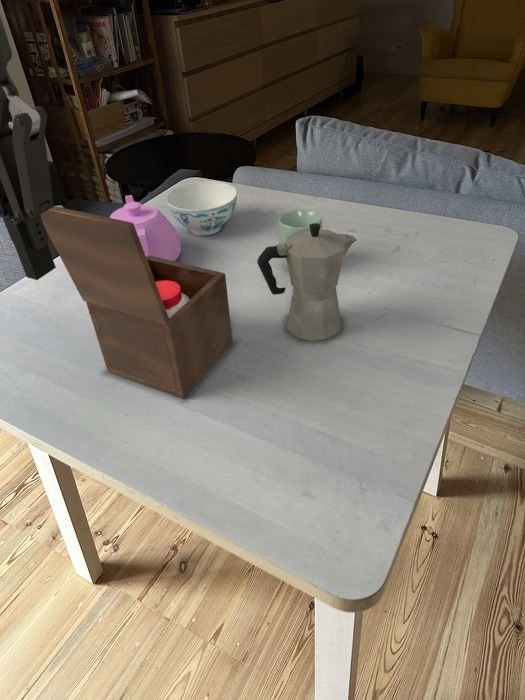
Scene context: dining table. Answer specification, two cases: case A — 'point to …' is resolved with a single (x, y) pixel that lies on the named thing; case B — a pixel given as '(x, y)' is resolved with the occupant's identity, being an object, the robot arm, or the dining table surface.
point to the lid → (106, 262)
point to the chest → (169, 332)
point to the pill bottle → (171, 296)
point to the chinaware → (202, 205)
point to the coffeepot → (310, 279)
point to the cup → (296, 224)
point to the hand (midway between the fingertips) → (41, 272)
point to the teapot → (151, 229)
